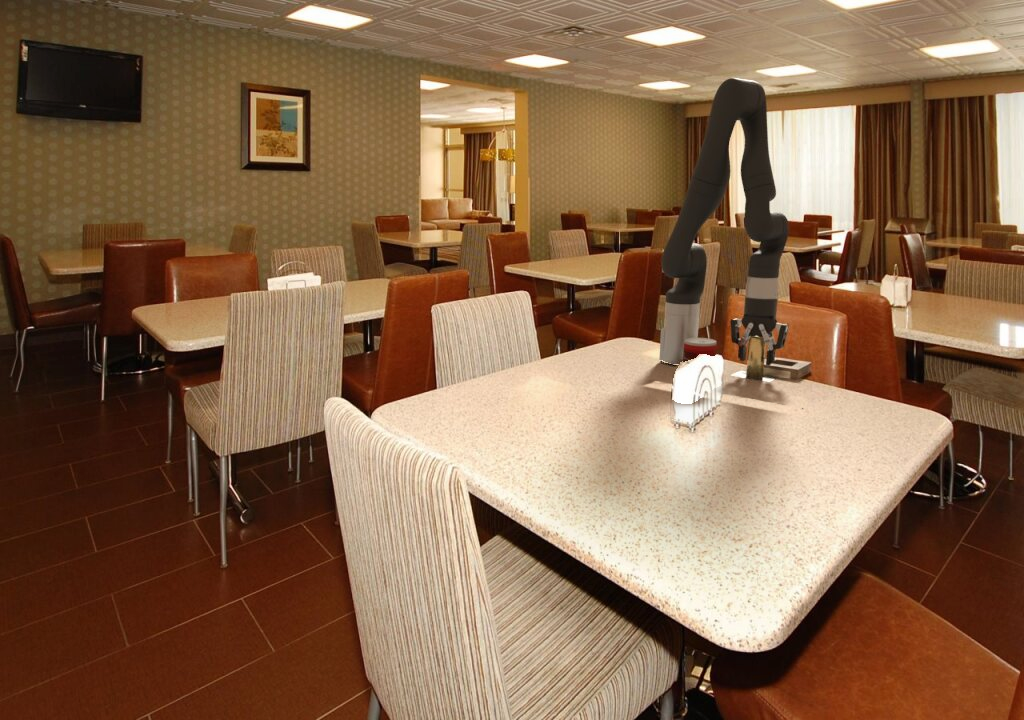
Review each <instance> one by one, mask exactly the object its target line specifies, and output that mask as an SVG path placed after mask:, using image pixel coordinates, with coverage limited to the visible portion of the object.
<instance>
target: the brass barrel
mask: <svg viewBox="0 0 1024 720" xmlns="http://www.w3.org/2000/svg"><path fill="white" fill-rule="evenodd" d="M747 347H748V348H747V357H746V359H747V360H746V361H747V362H746V376H747V377H750V378H763V370H764V359H766V357H765V356H766V348H767V344H766V342H765V341H764V338H763V337H758V336H749V340H748V346H747Z"/></svg>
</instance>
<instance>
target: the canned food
mask: <svg viewBox="0 0 1024 720" xmlns="http://www.w3.org/2000/svg"><path fill="white" fill-rule="evenodd" d="M717 345H718V344H717V340H715V339H712V338H707V337H698V338H687V339H685V340H684V349H683V362H685V361H688V360H691V359H694V358H696V357H697V356H698V355H699V354H707V355H710V356H715V355H716V356H717Z"/></svg>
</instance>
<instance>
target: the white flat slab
mask: <svg viewBox="0 0 1024 720" xmlns="http://www.w3.org/2000/svg"><path fill="white" fill-rule="evenodd" d="M729 377H735V378H739V379H740V378H741V379H747V380H751V381H759V382H765V383H771V382H774V381H775V380H777V379H778V378H780V377H777V376H771V375H764V374H763V378H750V377H747V376H746V371H744V370H739V371H737V372H734V373H732V374H730V375H729Z"/></svg>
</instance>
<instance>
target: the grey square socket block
mask: <svg viewBox="0 0 1024 720" xmlns="http://www.w3.org/2000/svg"><path fill="white" fill-rule="evenodd" d="M811 371H812V362H811V361H805V360H798V359H797V360H796V359H790V358H784V357H776V356H775V360H774V362H773V363H772V364H771V365H766V358H765V359H764V370H763V374H764V375H771V376H777V377H779V378H781V379H783V378H784V379H791V380H796V381H797V380H800V379H802V378H803V377H805V376H806V375H808V374H810V373H811Z"/></svg>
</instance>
